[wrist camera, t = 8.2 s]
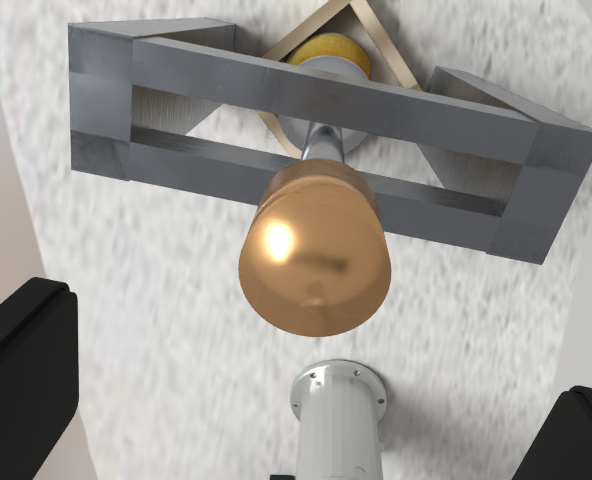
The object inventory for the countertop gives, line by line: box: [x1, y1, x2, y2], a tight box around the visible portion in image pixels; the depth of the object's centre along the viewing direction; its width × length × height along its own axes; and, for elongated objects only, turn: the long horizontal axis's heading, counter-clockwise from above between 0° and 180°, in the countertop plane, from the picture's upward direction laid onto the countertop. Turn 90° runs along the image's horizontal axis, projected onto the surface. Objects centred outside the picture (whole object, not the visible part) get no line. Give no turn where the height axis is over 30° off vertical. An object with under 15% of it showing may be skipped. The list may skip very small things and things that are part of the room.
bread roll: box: [286, 32, 371, 79], centre depth 44 cm, size 8×9×4 cm
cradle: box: [255, 0, 423, 159], centre depth 44 cm, size 11×13×2 cm
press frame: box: [68, 18, 592, 265], centre depth 34 cm, size 7×25×25 cm, turn 79°
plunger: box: [238, 55, 391, 337], centre depth 24 cm, size 7×7×25 cm
